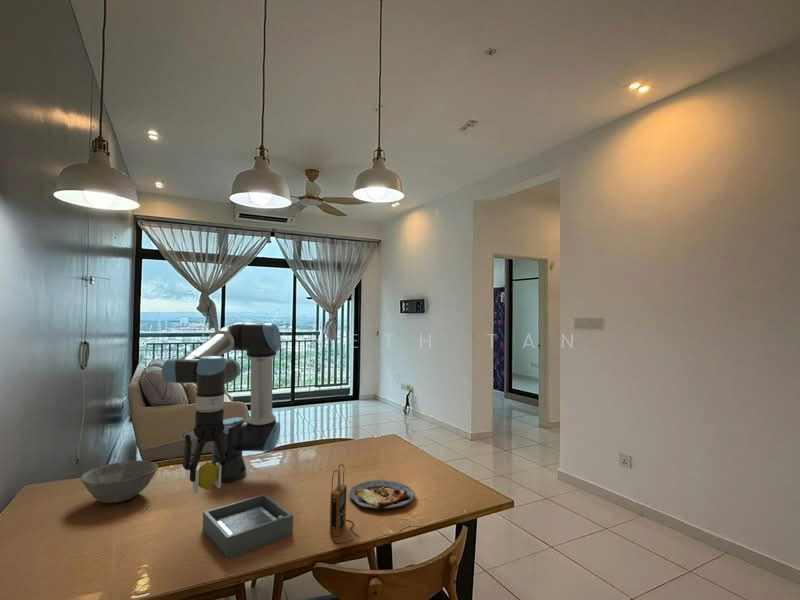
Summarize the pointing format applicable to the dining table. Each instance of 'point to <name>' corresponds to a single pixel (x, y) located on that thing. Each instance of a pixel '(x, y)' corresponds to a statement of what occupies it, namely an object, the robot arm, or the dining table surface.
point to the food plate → (371, 500)
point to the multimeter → (338, 509)
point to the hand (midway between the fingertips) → (206, 488)
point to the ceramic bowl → (119, 480)
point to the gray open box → (249, 537)
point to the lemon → (207, 475)
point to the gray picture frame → (245, 520)
